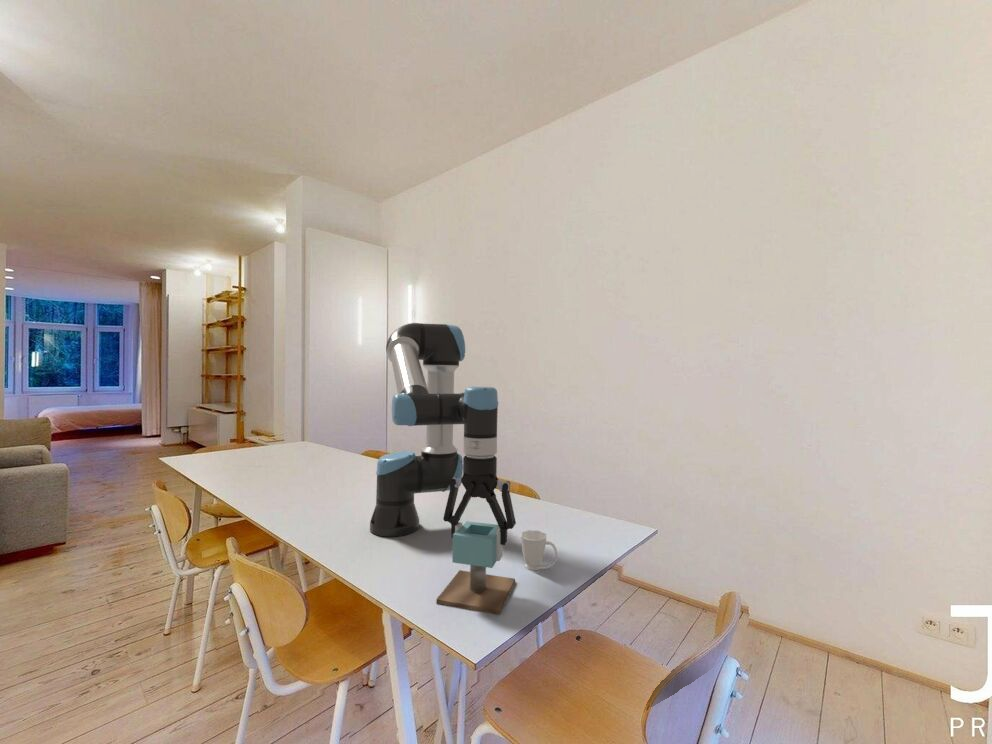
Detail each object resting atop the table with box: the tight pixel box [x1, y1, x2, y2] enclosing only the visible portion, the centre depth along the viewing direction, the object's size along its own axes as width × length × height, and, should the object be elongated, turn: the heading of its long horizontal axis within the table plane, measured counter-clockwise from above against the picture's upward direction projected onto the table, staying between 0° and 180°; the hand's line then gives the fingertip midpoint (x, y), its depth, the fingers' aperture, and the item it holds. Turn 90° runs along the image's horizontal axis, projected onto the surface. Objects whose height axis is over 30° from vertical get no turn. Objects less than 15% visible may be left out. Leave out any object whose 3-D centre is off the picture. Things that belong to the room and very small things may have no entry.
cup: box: [520, 530, 559, 571], centre depth 108 cm, size 7×10×8 cm
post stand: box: [435, 565, 516, 615], centre depth 95 cm, size 14×14×10 cm
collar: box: [451, 521, 499, 569], centre depth 95 cm, size 9×9×6 cm
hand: (478, 555), depth 95 cm, fingers closed on collar, 9 cm apart
